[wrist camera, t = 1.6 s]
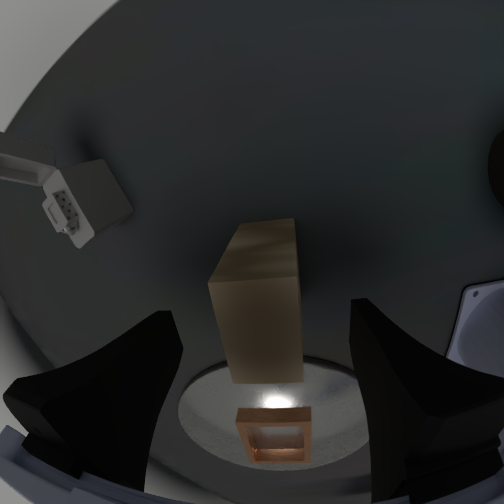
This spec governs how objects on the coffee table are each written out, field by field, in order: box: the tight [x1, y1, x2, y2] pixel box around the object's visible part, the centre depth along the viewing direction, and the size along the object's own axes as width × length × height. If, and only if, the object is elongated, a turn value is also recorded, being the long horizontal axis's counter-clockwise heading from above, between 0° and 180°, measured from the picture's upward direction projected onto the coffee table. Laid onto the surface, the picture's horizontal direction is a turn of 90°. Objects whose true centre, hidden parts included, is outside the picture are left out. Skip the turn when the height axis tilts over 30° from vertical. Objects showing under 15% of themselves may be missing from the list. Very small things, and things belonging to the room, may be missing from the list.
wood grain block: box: [208, 218, 304, 384], centre depth 14 cm, size 3×5×7 cm, turn 8°
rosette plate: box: [178, 356, 369, 471], centre depth 22 cm, size 18×18×2 cm
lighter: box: [0, 132, 134, 248], centre depth 12 cm, size 7×2×8 cm, turn 30°
